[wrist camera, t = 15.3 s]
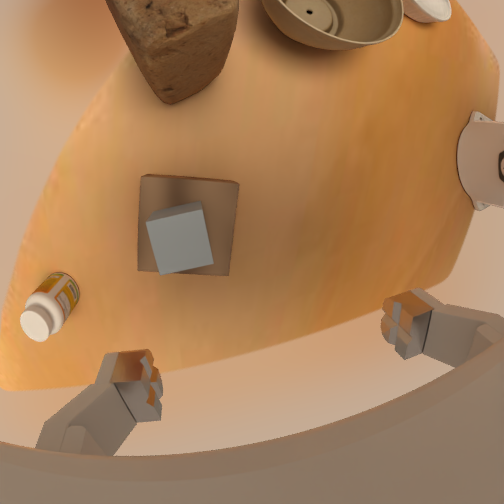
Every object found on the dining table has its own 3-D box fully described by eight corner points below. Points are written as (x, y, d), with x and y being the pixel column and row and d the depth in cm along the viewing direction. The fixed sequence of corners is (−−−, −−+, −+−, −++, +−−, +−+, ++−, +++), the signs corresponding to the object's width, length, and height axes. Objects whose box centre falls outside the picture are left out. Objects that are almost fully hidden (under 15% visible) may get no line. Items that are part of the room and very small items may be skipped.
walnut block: (232, 180, 34) (239, 184, 30) (223, 260, 37) (228, 276, 32) (148, 173, 32) (141, 176, 27) (144, 255, 35) (137, 270, 30)
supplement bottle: (42, 294, 33) (11, 330, 24) (53, 264, 32) (20, 295, 23) (72, 314, 35) (48, 355, 26) (85, 285, 34) (59, 323, 25)
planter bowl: (232, -25, 25) (248, -73, 15) (340, -21, 27) (378, -54, 17) (256, 73, 30) (283, 41, 20) (369, 68, 32) (419, 50, 22)
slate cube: (200, 200, 29) (202, 209, 25) (210, 247, 31) (213, 263, 26) (153, 211, 29) (145, 222, 24) (164, 257, 30) (160, 275, 26)
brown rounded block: (223, 85, 30) (263, 5, 12) (165, 114, 30) (131, 59, 11) (184, 17, 26) (185, -90, 8) (127, 45, 26) (76, -47, 7)
